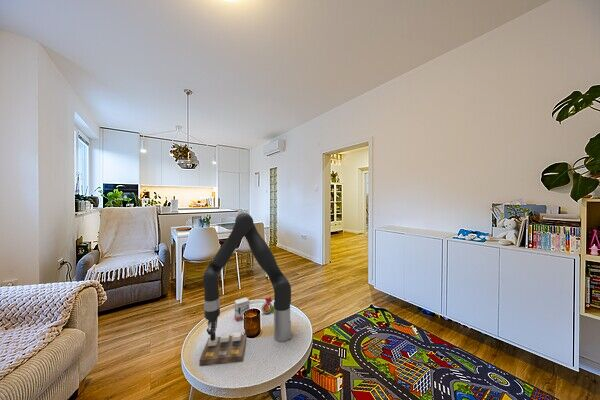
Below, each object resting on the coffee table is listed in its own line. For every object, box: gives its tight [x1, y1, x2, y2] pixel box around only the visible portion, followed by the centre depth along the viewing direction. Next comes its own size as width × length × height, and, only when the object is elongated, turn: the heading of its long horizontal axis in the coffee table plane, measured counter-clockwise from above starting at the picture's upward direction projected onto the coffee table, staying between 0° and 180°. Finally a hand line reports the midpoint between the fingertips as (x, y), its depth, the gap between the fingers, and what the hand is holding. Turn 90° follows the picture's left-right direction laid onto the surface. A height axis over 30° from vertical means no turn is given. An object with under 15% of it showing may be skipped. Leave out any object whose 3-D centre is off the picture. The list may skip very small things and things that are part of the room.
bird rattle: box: [261, 296, 274, 315], centre depth 151 cm, size 6×11×9 cm
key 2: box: [232, 331, 242, 341], centre depth 119 cm, size 4×4×2 cm
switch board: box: [198, 334, 247, 367], centre depth 116 cm, size 20×16×3 cm
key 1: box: [208, 336, 219, 346], centre depth 117 cm, size 4×4×2 cm
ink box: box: [234, 297, 250, 322], centre depth 146 cm, size 8×5×12 cm, turn 123°
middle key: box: [220, 332, 231, 342], centre depth 118 cm, size 4×4×2 cm
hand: (213, 339), depth 117 cm, fingers closed
